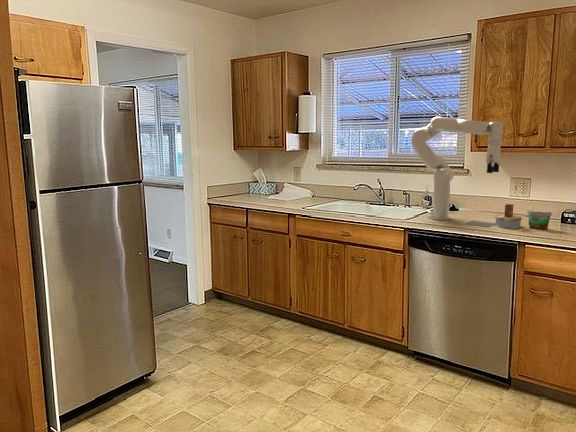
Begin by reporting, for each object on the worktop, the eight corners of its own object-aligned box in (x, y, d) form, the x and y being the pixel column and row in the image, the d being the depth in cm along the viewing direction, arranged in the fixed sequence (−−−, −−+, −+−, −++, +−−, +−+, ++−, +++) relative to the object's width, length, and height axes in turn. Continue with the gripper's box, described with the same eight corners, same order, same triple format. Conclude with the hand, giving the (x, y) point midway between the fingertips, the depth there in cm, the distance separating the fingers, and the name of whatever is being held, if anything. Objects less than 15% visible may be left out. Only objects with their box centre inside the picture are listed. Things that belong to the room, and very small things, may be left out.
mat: (462, 225, 276) (462, 224, 276) (472, 221, 287) (472, 220, 287) (488, 228, 266) (488, 227, 266) (497, 224, 277) (497, 223, 277)
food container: (524, 228, 265) (526, 211, 263) (526, 227, 270) (527, 209, 269) (549, 231, 258) (551, 213, 257) (550, 229, 263) (552, 211, 262)
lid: (491, 218, 268) (492, 204, 267) (500, 215, 278) (501, 202, 277) (517, 221, 259) (518, 207, 258) (524, 218, 269) (525, 204, 267)
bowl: (493, 227, 269) (493, 218, 268) (500, 224, 278) (501, 216, 277) (515, 230, 261) (516, 221, 260) (522, 227, 270) (522, 218, 269)
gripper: (493, 142, 284) (491, 171, 287) (482, 143, 271) (480, 173, 274) (506, 143, 279) (504, 171, 282) (496, 143, 266) (493, 173, 269)
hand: (492, 172), depth 278 cm, fingers open, 9 cm apart
